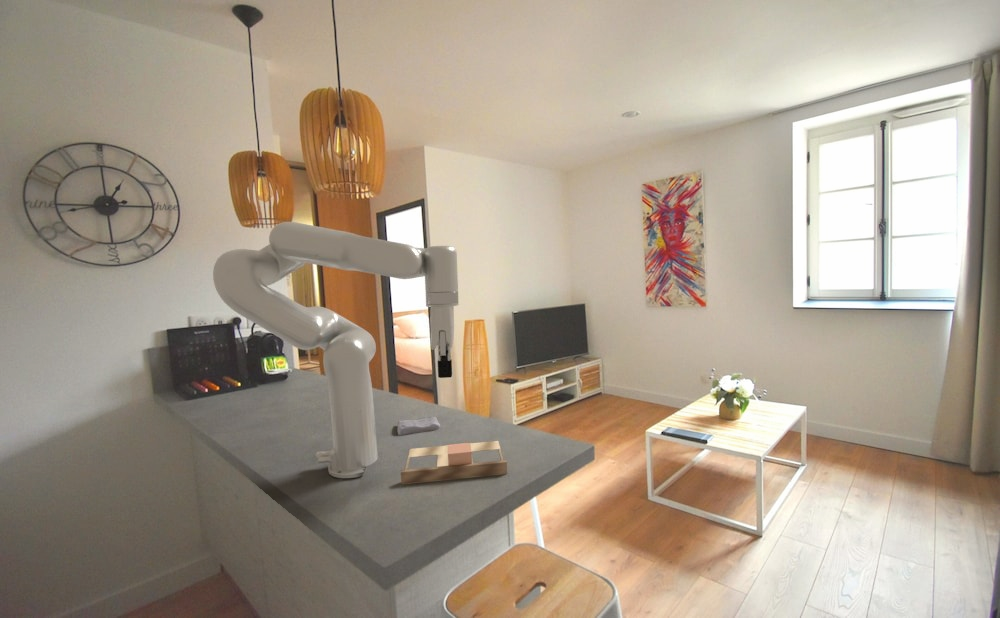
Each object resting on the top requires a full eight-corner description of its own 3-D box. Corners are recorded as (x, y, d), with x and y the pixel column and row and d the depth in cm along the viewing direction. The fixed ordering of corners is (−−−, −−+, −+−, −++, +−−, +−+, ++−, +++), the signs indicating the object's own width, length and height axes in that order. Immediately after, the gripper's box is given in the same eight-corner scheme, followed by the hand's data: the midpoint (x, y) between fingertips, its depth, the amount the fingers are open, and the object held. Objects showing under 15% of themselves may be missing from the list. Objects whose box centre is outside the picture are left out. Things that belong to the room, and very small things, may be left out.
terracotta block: (449, 477, 91) (447, 454, 91) (449, 466, 96) (447, 444, 96) (472, 474, 92) (471, 451, 91) (471, 464, 97) (470, 442, 96)
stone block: (395, 436, 125) (398, 442, 116) (395, 419, 126) (397, 423, 116) (436, 431, 128) (442, 436, 119) (436, 415, 129) (441, 418, 120)
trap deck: (402, 490, 89) (400, 472, 89) (410, 454, 107) (409, 439, 107) (507, 480, 91) (506, 462, 91) (498, 446, 109) (497, 431, 109)
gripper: (428, 298, 108) (431, 370, 109) (422, 302, 93) (426, 385, 94) (459, 297, 108) (461, 369, 110) (457, 301, 93) (460, 384, 95)
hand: (445, 376), depth 102 cm, fingers closed
